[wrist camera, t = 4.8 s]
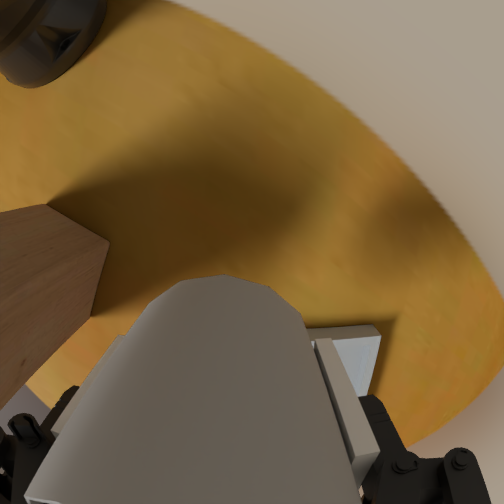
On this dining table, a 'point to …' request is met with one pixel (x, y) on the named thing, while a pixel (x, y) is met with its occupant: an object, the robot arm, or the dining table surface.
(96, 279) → the wooden block
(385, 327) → the dining table surface
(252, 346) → the cup
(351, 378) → the tray
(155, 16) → the dining table surface
